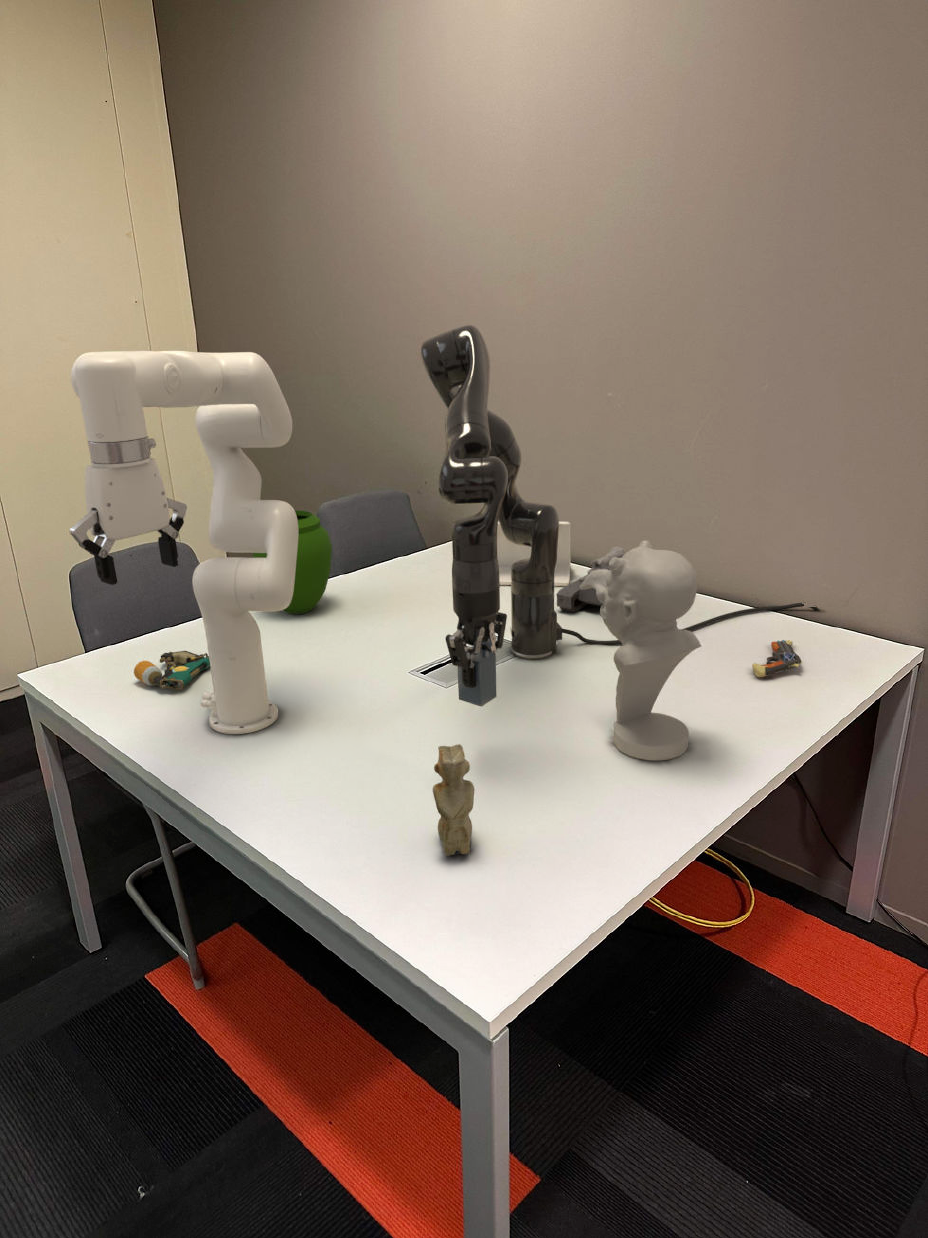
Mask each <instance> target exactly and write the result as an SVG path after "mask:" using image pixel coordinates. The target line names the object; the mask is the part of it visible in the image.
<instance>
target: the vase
mask: <svg viewBox="0 0 928 1238" xmlns="http://www.w3.org/2000/svg"><path fill="white" fill-rule="evenodd" d="M295 513H296V516H297V520H298V530H299V533H298V548H297V560H296V571H295V582H294V591H293V596H292V600H291V602H290V604H289V606H288V607H287V608H285V609H284V610H281V611H282V612H284V613H287V614H290V615H291V614H292V615H299V614H306V613H308V612H311V611H312V610H314V609H315V608H316V607H317V606H318V605H319V603H320V601H321V600H322V598H323V596H324V593H325V592H326V589H327V585H328V581H329V578H330V574H331V568H332V554H333V544H332V541H331V538H330V535H329V532H328V531H327V530H326V528H325V527H323V526H322V525H321V518H320V517H318V516H316V515H314V514H313V513H312V512H310V511H307V510H295ZM252 556H253V558H266V557H267V553H252Z"/></svg>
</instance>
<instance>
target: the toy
mask: <svg viewBox="0 0 928 1238" xmlns="http://www.w3.org/2000/svg"><path fill="white" fill-rule="evenodd" d="M625 554H626V551H625V549H624V548H622V547H621V546H614V547H612V548H611V549H610V550H609V552H608V553H607V554H605V555H604V556H601V557H599V558H598V559H597V557H596V558H594V559H593V560H592V561H590V562H589V563H590V564H591V565H592V567H591V568H590V569H589V570H587V573H586V575H584V576H582V577H580V578H578V579H577V580H575V581H573V582H570V583H569V585H567V586H563V587H562V588H560V589H559V590H558V591H557V592H556V607H558V608H559V609H560V610H562V611H566V612H572V613H575V612H577V611H579V610H581V609H582V608H585V607H586V606H588V605H592V606H598V607H601V606H602V605H603V603H601V602H600V601H599V600H598V598H597V595H596V589H594V588H590V589H585V590H580V588H579V587H580V585H581V584H582V583H583V581H584V580H585V579H586V577H587V576H588V575H589V574H590V573H591V572H593V571H595V570H600V569H606V570H610V569H609V562H610V560H611V559H612V558H614V557H617V558H622V557H623V556H624V555H625Z"/></svg>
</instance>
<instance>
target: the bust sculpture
mask: <svg viewBox="0 0 928 1238" xmlns="http://www.w3.org/2000/svg"><path fill="white" fill-rule="evenodd" d="M609 569H610V570H606V569H600V570H595V571H593V572H591V573H590V574H589V575H588V576H587V577H586V579H585V580H584V581H583V583H582V584H581V585H580V587H579V588H580V590H585V589H590V588H594V589H596V595H597V598H598V600H599V601H600V602H601V603H603V605H602V606H600V610H599V614H600V617H601V618H602V620H603V623H604V625H605V626H606V627H607V629H608V631H609V632H610V634H611V635H612V636H614V637H615V638H616V640H619V641H620V642H622V644H621V646H620V647H619V648H617V649H616V651H615V652H614V654H613V662H614V666H615V668H616V670H617V671H618V673H619V674H618V678H617V682H616V688H615V693H616V694H615V710H616V721H615V722H614V724H613V732H612V733H613V734H612V741H613V742H612V743H613V745H614V746H615V748H617V750H619V751H620V752H622V753H623V754H625V755H627V756H630V757H631V758H634V759H635V758H636V759H639V760H646V761H666V760H671V759H675V758H678V757H680V756H682V755H683V754H684V753H686V751H687V749H688V747H689V735H690V733H689V732H690V731H689V728H688V726H687V725H686V724H685V723H684V722H683V721H681V720H680V719H678V718H676V717H673V716H671V715H667V714H664V713H660V712H652V711H653V708H654V706H655V703H656V701H657V699H658V697H659V694H660V693H661V691H662V689H663V688H664V686H665V684H666V682H667V681H668V679H669V678H670V676H671V675H672V673H673V672H674V671H675V669H676V668H677V666H678V665H679V664H680V663H681V662H682V661H683V660H684V659H685V658H686V657H687V656H688V655H690V654H691V653H692V652H694V651H695V650H697V649H699V648H702V644H701V642H700V641H699V640H700V639H698V637H697V636H696V634H695V633H694V632H693V631H692V630H691V631H688V630H683V629H684V628H682V629H680V628H678V621H677V620H679V619H680V618H682V617H683V616H685V615H686V614H687V613H688V612H689V611H690V610H691V608H692V607H693V605H694V603H695V600H696V597H697V592H698V576H697V573H696V571H695V568H694V567H693V565H692V564H691V562H690V561H689V560H688V559H686V558H685V556H684V555H683V554H681V553H678V552H676V551H672V550H666V549H655V548H653V546H652V543H651V542H650V541H649V540H640V543H639V546H637V547H633V548H632V549H630V550H629V551H627V552H625V555H624V556H623V557H622V558H617V557H614V558H612V559H611V560H610V562H609Z"/></svg>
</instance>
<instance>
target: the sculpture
mask: <svg viewBox="0 0 928 1238" xmlns="http://www.w3.org/2000/svg"><path fill="white" fill-rule="evenodd" d="M437 751H438V758H437V762H436V763H435V764H434V767H433V770H434V772H435V773H436V774H437V775H438V776H439V777H441V779H442V781H441V782H437V783H435V784H434V785H433V786H432V794H433V798H434V803H435V808H436V810H437V812H438V814H439V815H440V818H439V819H438V821H437V833H438V837H439V839H440V840H439V841H440V842H441V844H442V848H443V853H444V855H445V856H455V854H456V851H459V853H460V855H468V854H470V852H471V851H470V850H471V838H472V836H473V822H472V820H471V818H470V813H471V812H472V811H473V808H474V800H475V798H474V797H475V786H474V783H473V782H472V781H471V780H468V779H464V777H465V775H467V774H468V773H469V771H470V770H471V765H470V761H468V760H467V759H466V754H465V750H464V748H463V745H462V744H460V743H459V744H454V745H451V746H450V745H449V746H448V745H440V746H438V747H437Z"/></svg>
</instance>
